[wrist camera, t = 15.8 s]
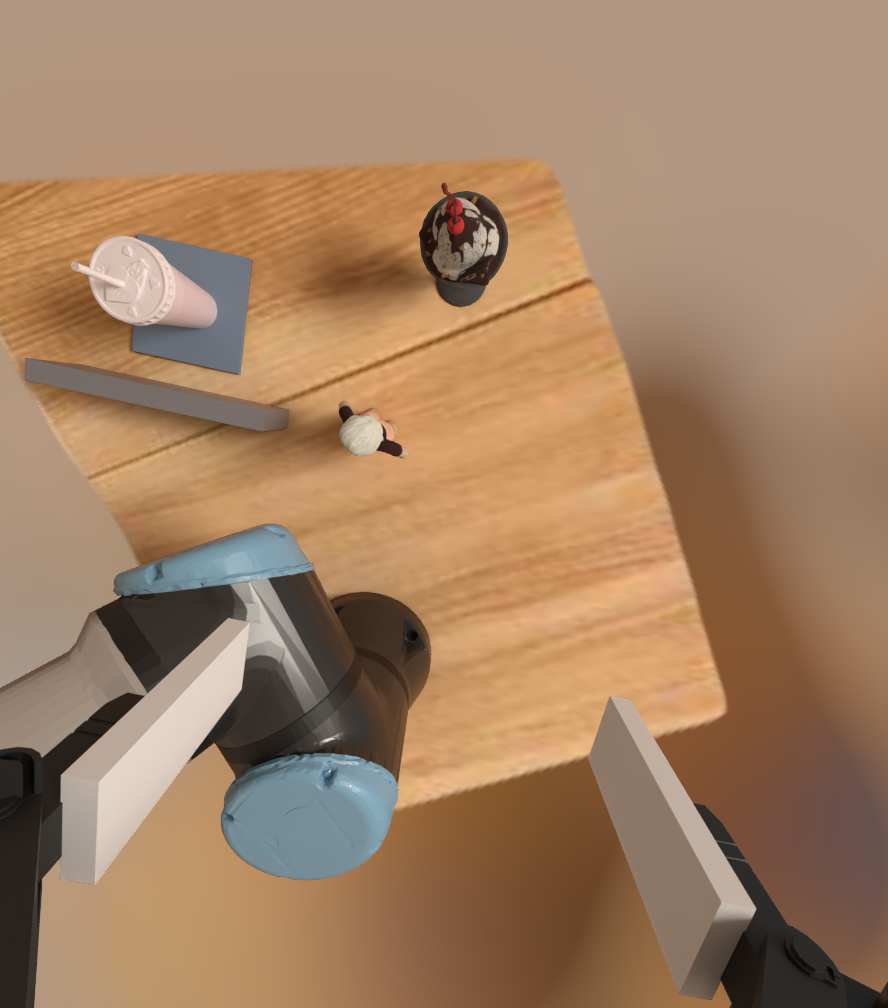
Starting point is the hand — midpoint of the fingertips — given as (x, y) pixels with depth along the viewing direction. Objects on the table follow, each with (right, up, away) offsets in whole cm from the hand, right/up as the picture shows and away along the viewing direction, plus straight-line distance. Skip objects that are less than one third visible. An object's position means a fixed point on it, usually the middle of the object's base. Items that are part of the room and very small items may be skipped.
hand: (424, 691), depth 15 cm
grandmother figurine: (-6, +15, +31) cm, 34 cm away
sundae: (+2, +29, +27) cm, 40 cm away
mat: (-25, +27, +28) cm, 46 cm away
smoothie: (-24, +26, +28) cm, 45 cm away
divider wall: (-27, +18, +30) cm, 44 cm away
